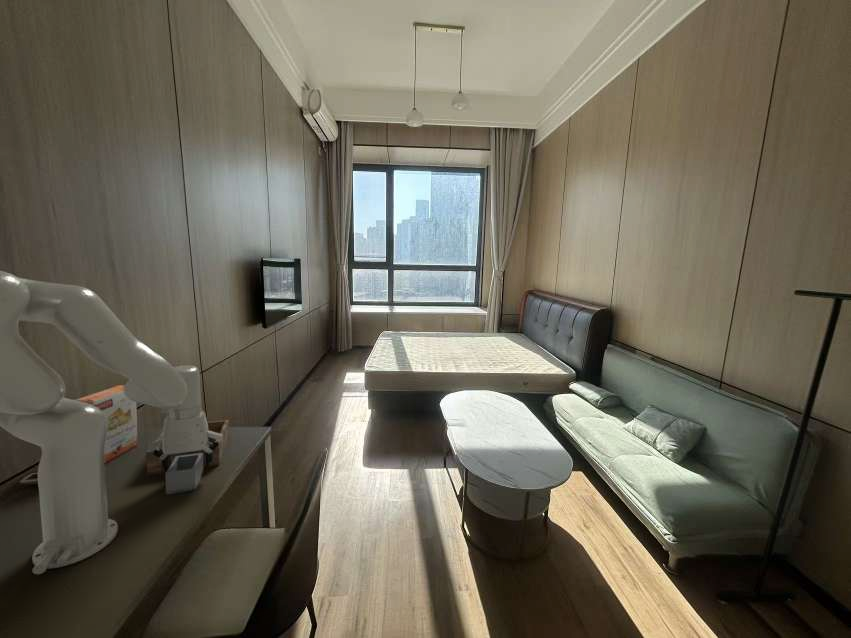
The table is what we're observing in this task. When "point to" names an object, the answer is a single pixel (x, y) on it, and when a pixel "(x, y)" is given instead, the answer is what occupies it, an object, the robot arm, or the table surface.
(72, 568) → the table surface
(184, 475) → the small crate
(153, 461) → the big crate
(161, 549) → the table surface
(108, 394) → the cracker box
